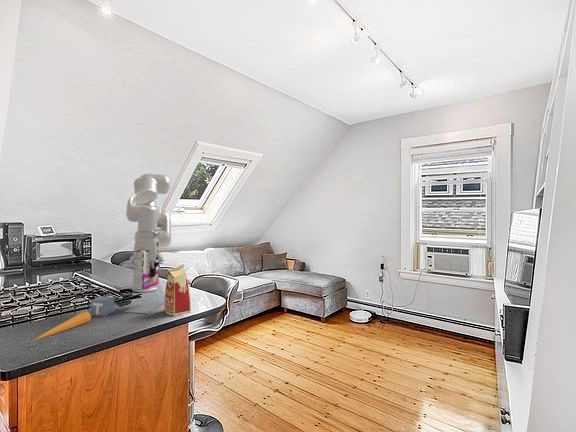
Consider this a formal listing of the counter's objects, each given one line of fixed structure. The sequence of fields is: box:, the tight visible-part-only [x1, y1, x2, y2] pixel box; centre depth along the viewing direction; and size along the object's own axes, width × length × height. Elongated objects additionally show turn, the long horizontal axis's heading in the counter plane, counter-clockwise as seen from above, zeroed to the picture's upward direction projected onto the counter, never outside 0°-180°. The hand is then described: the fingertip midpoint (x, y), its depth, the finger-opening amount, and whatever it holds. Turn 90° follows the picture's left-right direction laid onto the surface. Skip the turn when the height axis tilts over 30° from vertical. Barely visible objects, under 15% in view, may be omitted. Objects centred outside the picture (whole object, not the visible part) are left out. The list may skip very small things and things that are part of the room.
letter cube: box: [89, 295, 115, 317], centre depth 131 cm, size 6×6×6 cm
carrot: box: [32, 311, 92, 342], centre depth 113 cm, size 20×4×4 cm, turn 160°
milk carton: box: [163, 263, 192, 316], centre depth 136 cm, size 9×9×20 cm
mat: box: [123, 300, 164, 315], centre depth 140 cm, size 15×10×1 cm, turn 175°
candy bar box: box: [132, 250, 160, 290], centre depth 139 cm, size 11×5×16 cm, turn 169°
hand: (146, 276), depth 139 cm, fingers closed on candy bar box, 5 cm apart
